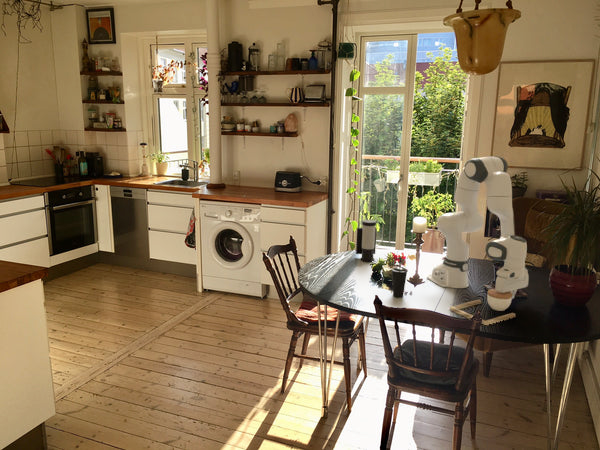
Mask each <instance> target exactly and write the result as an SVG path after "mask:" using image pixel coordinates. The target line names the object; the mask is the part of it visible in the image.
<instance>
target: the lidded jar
mask: <svg viewBox="0 0 600 450" xmlns="http://www.w3.org/2000/svg"><path fill="white" fill-rule="evenodd" d="M486 293H487V296H486V297H487V303H488V305H489V306H490V308H491V309H492V310H494V311H498V312H499V311H500V312H501V311H502V312H503V311H505V310H506V309H508V308H509V307H510V305H511V303H512V300H513V299H512V293H511V292H506V293H499V292H497V291H496V290H495V288H490V289H488V290H487V292H486Z"/></svg>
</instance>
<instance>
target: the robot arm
mask: <svg viewBox="0 0 600 450" xmlns="http://www.w3.org/2000/svg"><path fill="white" fill-rule="evenodd" d="M508 171H509V165H508V162H507V160H506V159H505V158H503V157H502V156H490V155H489V156H487V155H486V156H482V157H474V158H471V159H468V160H467V161H466V162H465V165H464V167H463V168H462V169H461V171H460V174H459V176H458V179H457V184H456V189H455V193H454V198H453V199H454V202H455V203H456V204H457V206H459V207H460V208H459V211H458V212H457V211H455V212H446V213H444V214H441V215H439V216H438V217H437V221H436V227H437V229H438V231H439V232H440V233H441V234H442V235H443V236H444V238H445V241H446V252H445V253H446V254H445V255H446V256H445V257H442V258H441V261H442V260H443V261H442V263H440V264H438V265H436V266H435V267H434V268H433V270H432V272H431V274H429V275H427V276H426V279H427V280H429V281H431V282H433V283H435V284H436V285H438V286H440V287H442V288H451V289H452V288H453V289H465V288H468V287H469V286H470V284H469V278H468V276H469V275H468V268H469V261H470V260H469V256H470V255H469V254H470V253H469V251H470V245H469V243H468V242H467V241H466V240H464V239H463V234H468V233H474V232H478V231H480V230H482V228H483V226H484V224H485V223H484V222H485V221H484V217H483V215H482V214H481V213H480V212H479V209H478V200H479V199H478V198H479V193H480V189H481V184H482V183H485V185H486V205H487V209H488V210H489V212H491V214H494V215H496V217H497V218H499V222H500V237H499V238H498V239H494V240H491V241H489V242H487V244H486V245H485V250H484V251H485V254H486V256H487V258H489V259H490V260H492V261H501V262H502V261H503V262H504V263H503V266H502V267H501V268H499V269H498V270H497V271H496V275H497V277H496V279H495V287H494V289H495V290H496V291H497V292H499V293H506V292H511V293H512V300H513V299H515V295H516V293H517V291H518V290H520V289H524V288H527V287H528V286H529V273H528V272H529V271H528V269H527V267H526V263H525V261H526V258H527V254H528V253H527V250H528V247H527V246H528V245H527V240H526V239H525V238H524V237H522V236H519V235H516V229H515V228H516V226H515V213H514V208H513V187H512V179H511V175H510V174H508V173H507V172H508Z"/></svg>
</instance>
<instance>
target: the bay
mask: <svg viewBox="0 0 600 450" xmlns="http://www.w3.org/2000/svg"><path fill="white" fill-rule="evenodd" d="M480 304H482V299H475V300H472V301H467V302H463V303H460V304H459V303H458V304H456V305H452V306H449V311H451V312H453V313H455V314H458V315H460V316H462V317H465V318H467V319H468V320H471V319H470V318H472V317H473V316H474V315H473V314H471V313H468V312H466V311H464V310H462V309H464V308H469V307H472V306H476V305H480ZM516 315H517V314H516V313H514V312H511V313H507V314H504V315H500V316H497V317H494V318H491V319H487V320H485V319H482V324H484V325H487V326H489V324H491V325H494V324H496V322H497V323H501V322H502V321H503V320H504V321H507V320H509V318H510V319H513V317H514V318H516ZM500 321H501V322H500ZM504 321H503V322H504ZM493 323H494V324H493ZM482 324H481V325H482ZM484 325H483V326H484Z"/></svg>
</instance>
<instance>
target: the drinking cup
mask: <svg viewBox="0 0 600 450" xmlns="http://www.w3.org/2000/svg"><path fill="white" fill-rule="evenodd" d="M401 265H402V256H400V257H399V265H398V266H394V267H392V268H391V273H392V296H393V297H394V298H399V299H401V298H403V297H404V293H405V286H406V281H407V273H408V269H407V268H405V267H403V266H401Z"/></svg>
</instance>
